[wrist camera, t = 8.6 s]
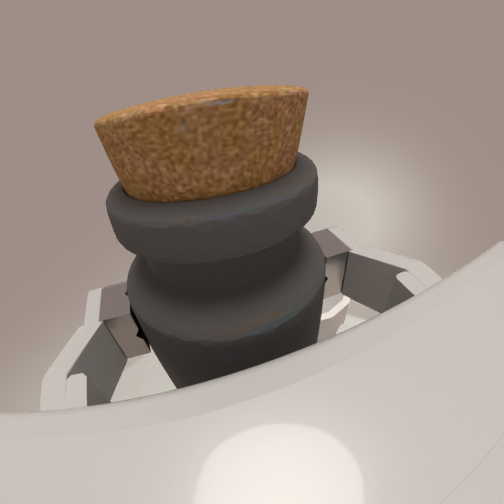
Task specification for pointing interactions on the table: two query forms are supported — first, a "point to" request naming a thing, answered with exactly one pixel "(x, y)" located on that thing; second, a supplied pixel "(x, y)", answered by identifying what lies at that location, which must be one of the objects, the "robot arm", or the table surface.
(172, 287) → the bottle
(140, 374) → the table surface
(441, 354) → the robot arm
